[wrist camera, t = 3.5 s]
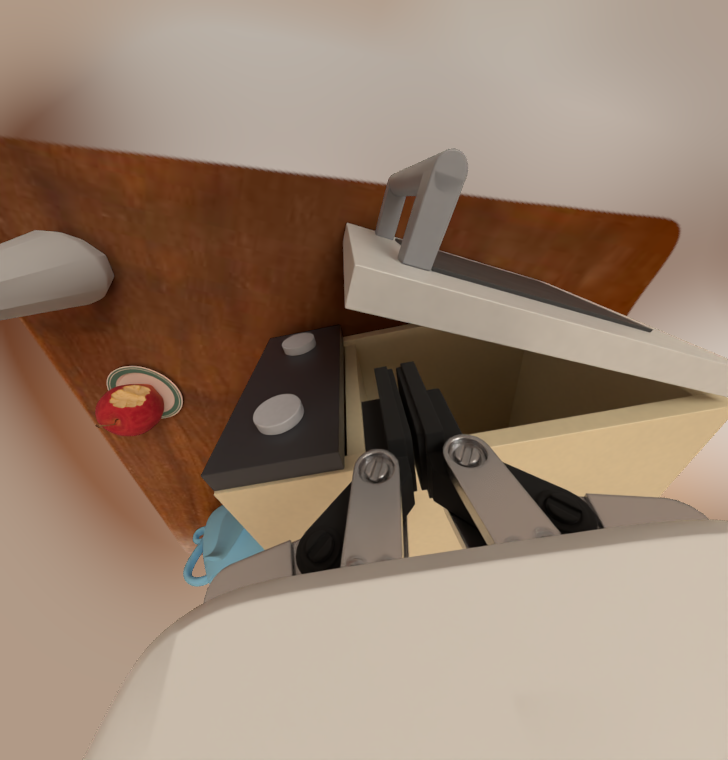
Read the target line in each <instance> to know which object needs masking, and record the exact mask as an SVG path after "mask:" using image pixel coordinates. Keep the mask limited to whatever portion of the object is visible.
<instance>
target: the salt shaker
mask: <svg viewBox="0 0 728 760" xmlns="http://www.w3.org/2000/svg"><path fill="white" fill-rule="evenodd" d="M113 278H114V274H113V271H112V269H111V266H110V264H109V262H108V259H107V257H106V255H105V254H103V253H102V252H100V251H99V250H97V249H96V248H94V247H93V246H91V245H90V244H88V243H87V242H85V241H84V240H82V239H79V238H76V237H73V236H70V235H67V234H64V233H61V232H52V231H40V230H34V231H32V232H29V233H27V234H24V235H22V236H19V237H17V238H14V239H12V240H9V241H7V242H4V243H2V244H0V320H5V319H11V318H16V317H22V316H27V315H33V314H38V313H44V312H49V311H55V310H61V309H66V308H72V307H77V306H83V305H88V304H91V303H94V302H96V301H98V300H100V299H102V298H103V297H104V296H105V295H106V293H107V291H108V289H109V287H110V285H111V283H112V280H113Z"/></svg>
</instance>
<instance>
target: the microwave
mask: <svg viewBox="0 0 728 760" xmlns="http://www.w3.org/2000/svg"><path fill="white" fill-rule="evenodd" d="M412 361H414V363H415V365H416V368H417V370H418V372H419V375H420V377H421V379H422V381H423V384H424V386H425V388H426V390H430V389H436V388H438V389H440V391H441V393H442V395H443V397H444V399H445V401H446V403H447V405H448V407H449V409H450V411H451V413H452V415H453V416H454V418H455V420H456V422H457V424H458V426H459V428H460V430H461V432H462V434H467V435H473V436H476V437H478V438H480V439H482V440H484V441H485V442H486V443H487V444H488V445H489V446H490V447H491V448H492V450H493V451H494V452H495V453H496V455H497V456H498V457H499V458H500V459H501V461H502V462H504V463H506V464H508V465H511V466H513V467H515V468H518V469H520V470H522V471H525V472H527V473H529V474H531V475H534V476H536V477H538V478H541V479H543V480H545V481H547V482H550V483H552V484H554V485H557V486H559V487H561V488H564V489H566V490H568V491H570V492H572V493H574V494H575V495H577V496H582V497H584V496H585V494H586V493H589V494H607V495H624V496H642V497H660V496H661V495H662V493H663V492H664V491H665V490H666V489H667V488H668V487H669V485H670V484H671V483H672V482H673V481H674V480H675V479H676V477H677V476H678V475H679V474H680V473H681V472H682V471H683V470H684V468H685V467H686V466H687V465H688V464H689V463H690V462H691V461H692V459H693V458H694V457H695V456H696V455H697V454H698V452H699V451H700V450H701V449H702V448H703V447H704V446H705V445H706V444H707V442H708V441H709V440H710V439H711V438H712V437H713V436H714V434H715V433H716V432H717V431H718V430H719V429H720V428H721V427H722V425H723V424H724V423H725V422H726V421H727V420H728V398H727V397H724V396H720V395H716V394H711V393H707V392H703V391H698V390H694V389H690V388H686V387H681V386H677V385H673V384H668V383H664V382H660V381H655V380H651V379H647V378H643V377H638V376H634V375H630V374H625V373H621V372H617V371H613V370H608V369H604V368H600V367H595V366H591V365H587V364H582V363H578V362H574V361H570V360H565V359H561V358H557V357H552V356H548V355H544V354H539V353H535V352H531V351H527V350H522V349H518V348H514V347H509V346H505V345H501V344H497V343H492V342H488V341H484V340H479V339H475V338H471V337H466V336H462V335H458V334H454V333H449V332H445V331H441V330H436V329H432V328H428V327H423V326H419V325H415V324H407V325H402V326H397V327H392V328H387V329H382V330H376V331H371V332H366V333H361V334H356V335H351V336H346V337H343V334H342V330H341V326H340V325H336V326H331V327H326V328H321V329H316V330H311V331H306V332H301V333H296V334H290V335H285V336H280V337H275V338H270V340H269V342H268V344H267V346H266V348H265V350H264V352H263V354H262V356H261V358H260V360H259V362H258V364H257V366H256V368H255V369H254V371H253V373H252V375H251V377H250V379H249V381H248V383H247V385H246V387H245V389H244V391H243V393H242V395H241V397H240V399H239V401H238V403H237V405H236V407H235V409H234V411H233V413H232V415H231V417H230V419H229V421H228V423H227V425H226V427H225V429H224V431H223V433H222V435H221V437H220V439H219V441H218V443H217V445H216V447H215V449H214V450H213V452H212V454H211V456H210V458H209V460H208V462H207V464H206V466H205V468H204V470H203V472H202V474H201V477H202V478H203V479H204V480H205V481H206V483H207V484H208V485H209V486H210V487H211V488H212V489H213V490H214V491H215V492H214V496H215V497H216V498H217V499H218V500H219V501H220V502H221V503H222V504H223V506H224V507H225V508H226V509H227V510H228V511H229V512H230V513H231V514H232V515H233V516H234V517H235V518H236V520H237V521H238V522H239V523H240V524H241V525H242V526H243V527H244V528H245V529H246V530H247V531H248V532H249V533H250V535H251V536H252V537H253V538H254V539H255V540H256V541H257V542H258V543H259V544H260V545H261V546H262V547H263V549H264V550H266V549H269V548H271V547H274V546H276V545H278V544H281V543H283V542H286V541H288V540H291V541H292V542H294V541H296V540H299V539H301V537H302V536H303V535H304V533H305V532H306V531H307V530H308V529H309V527H310V526H311V525H312V524H313V523H314V522H315V521H316V520H317V519H318V518H319V517H320V515H321V514H322V513H323V512H324V511H325V510H326V509H327V508H328V507H329V506H330V504H331V503H332V502H333V501H334V500H335V499H336V498H337V497H338V496H339V495H340V493H341V492H342V491H343V490H344V489H345V488H346V487H347V486H348V485H349V484H350V482H351V481H352V476H353V469H354V465H355V462H356V461H357V459H358V458H359V457H360V456H361V455H362V454H363V453H365V452H366V450H365V439H364V427H363V416H362V404H361V402H364V401H369V400H375V399H379V394H378V389H377V383H376V378H375V372H374V368H379V367H385V366H387V369H392V370H393V373H394V377H395V380H396V384H397V387H398V381H397V373H396V368H398V367H400V364H401V363H406V362H412ZM398 390H399V389H398ZM415 472H416V482H417V491H416V492H414V498H415V505H414V507H413V508H412V510H411V511H410V512H409V514H408V515H407V518H408V534H409V553H410V557H414V556H421V555H428V554H434V553H441V552H448V551H454V550H461V549H462V547H461V545H460V543H459V541H458V539H457V537H456V535H455V533H454V531H453V529H452V527H451V525H450V522H449V520H448V518H447V516H446V514H445V512H444V508H443V507H442V506H441V505H439V504H437V503H436V502H434V501H433V498H429V495H428V491H427V490H422V489H421V486H420V482H419V479H418V475H417V471H416V468H415Z"/></svg>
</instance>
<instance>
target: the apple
mask: <svg viewBox="0 0 728 760" xmlns="http://www.w3.org/2000/svg"><path fill="white" fill-rule="evenodd" d="M107 388H108V392H106V393H105V394H104V395H103V396H102V398H101V399H100V400H99V401H98V403H97V405H96V411H95V415H96V419H97V421H98V422H99V424H100V425H96V427H98V428H100V427H103V428H105V429H106V430H108V431H109V432H111V433H114V434H116V435H121V436H136V435H140V434H143V433H145V432H147V431H149V430H150V429H152V428H153V427H154V426H155V425H156V424H157V423H158V422H159V421H160V419H161V418H168V417H171V416H173V415H175V414H177V413H178V412H179V411H180V409H181V407H182V405H183V398H182V395H181V392H180V390H179V389H178V388H177V386H176V385H175V384H174V383H173V382H172V381H171V380H169V379H168V378H167V377H165V376H164V375H162V374H160V373H158V372H156V371H154V370H151V369H148V368H144V367H139V366H125V367H120V368H118V369H116V370H114V371H113V372H111V373H110V374H109V376H108V378H107Z"/></svg>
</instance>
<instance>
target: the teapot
mask: <svg viewBox="0 0 728 760" xmlns="http://www.w3.org/2000/svg"><path fill="white" fill-rule="evenodd" d="M203 534H204V536H203V538H201V539H199V537H200V536H201V535H203ZM193 542H194V543H195V544H198V546H197V547H196V548H195V550H194V551H193V553H192V554H191V556H190V558H189V559H188V561H187V563H186V565H185V568H184V573H183V574H184V579H185V581H186V582H187V583H188V584H190V585H192V586H203V585H206V584H208V583H211V582H212V580H213V578H214V577H215V576H216V575H217V574H218V573H219V572H220V571H221V570H222V569H224V568H225V567H227V566H228V565H230V564H232V563H235V562H237V561H240V560H242V559H245V558H247V557H249V556H252V555H254V554H257V553H259V552H262V551H264V549H263V547H262V546H261V545H260V544H259V543H258V542H257V541H256V540H255V539H254V538H253V537H252V536H251V535H250V533H249V532H248V531H247V530H246V529H245V528H244V527H243V526H242V525H241V524H240V523H239V522H238V521H237V520H236V518H235V517H234V516H233V515H232V514H231V513H230V512H229V511H228V510H227V509H226V508H225V507H224V506H223V505H221V506H220V507H218V508H217V509H216V510H215V511H214V512H213V513H212V514H211V515H210V517H209V518H208V521H207V524H206V526H204V527H201V528H199V529H197V530H196V531H195V533H194V535H193ZM202 552H203V559H204V564H205V569H206V575H205V576H202V577H193V576H192V571H193V568H194V566H195V564H196V562H197V560H198V559H199V557H200V555H201V554H202Z"/></svg>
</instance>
